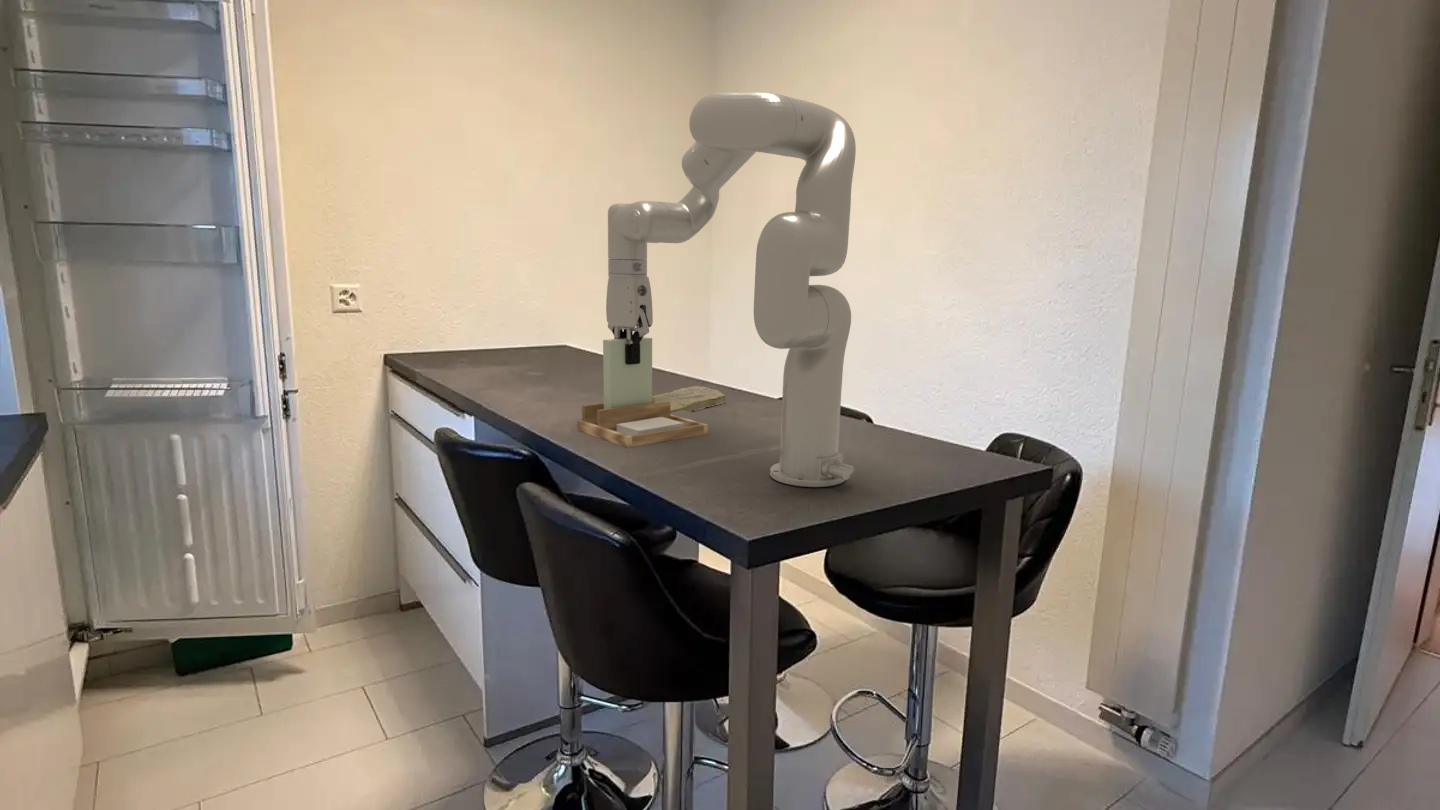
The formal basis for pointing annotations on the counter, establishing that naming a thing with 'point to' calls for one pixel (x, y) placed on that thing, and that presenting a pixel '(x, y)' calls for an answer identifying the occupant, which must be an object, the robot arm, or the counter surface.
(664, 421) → the upper offcut
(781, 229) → the robot arm
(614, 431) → the tray
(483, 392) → the counter surface
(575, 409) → the counter surface
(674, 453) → the counter surface
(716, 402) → the stone slab
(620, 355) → the pale green slab
